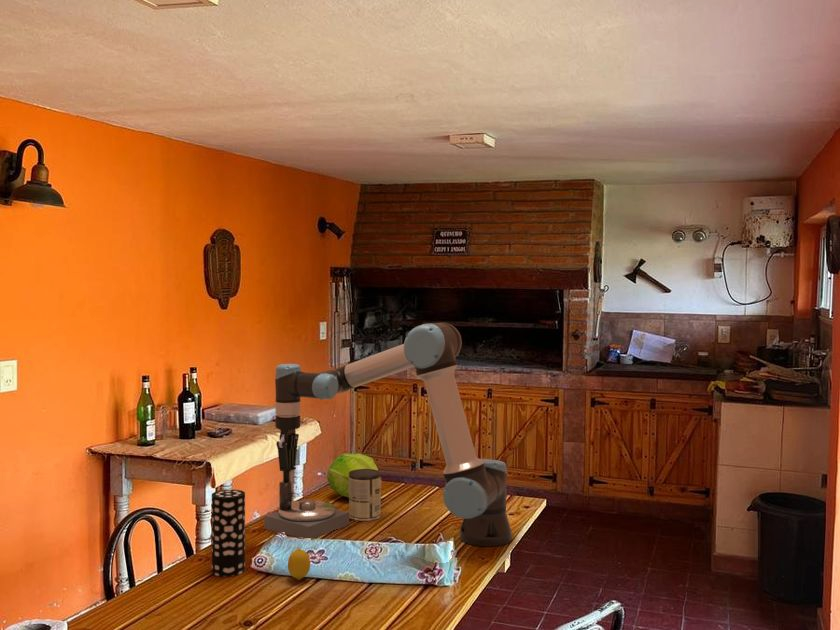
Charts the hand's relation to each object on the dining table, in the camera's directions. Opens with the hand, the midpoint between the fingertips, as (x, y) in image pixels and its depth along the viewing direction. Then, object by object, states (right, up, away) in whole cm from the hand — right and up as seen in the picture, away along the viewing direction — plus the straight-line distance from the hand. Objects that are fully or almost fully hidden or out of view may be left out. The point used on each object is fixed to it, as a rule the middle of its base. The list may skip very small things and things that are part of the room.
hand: (287, 491), depth 246 cm
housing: (+6, -10, -2) cm, 12 cm away
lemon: (+10, -12, -45) cm, 48 cm away
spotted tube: (-9, -12, -39) cm, 42 cm away
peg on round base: (+6, -6, -2) cm, 9 cm away
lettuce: (+18, -9, +31) cm, 37 cm away
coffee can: (+23, -10, +9) cm, 27 cm away
